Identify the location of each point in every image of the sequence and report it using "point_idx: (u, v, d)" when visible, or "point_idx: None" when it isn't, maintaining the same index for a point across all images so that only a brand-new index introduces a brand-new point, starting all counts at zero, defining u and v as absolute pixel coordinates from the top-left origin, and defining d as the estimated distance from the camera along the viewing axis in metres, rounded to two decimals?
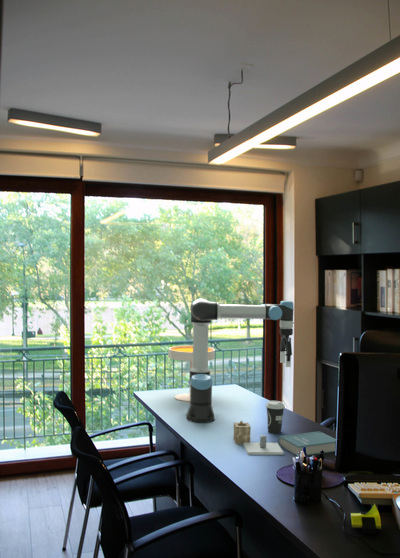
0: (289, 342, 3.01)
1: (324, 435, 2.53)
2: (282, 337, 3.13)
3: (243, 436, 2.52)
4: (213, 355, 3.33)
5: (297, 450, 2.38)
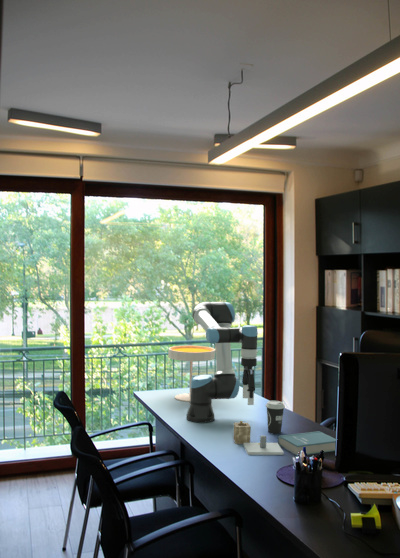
0: (252, 375, 2.53)
1: (323, 435, 2.54)
2: (245, 368, 2.65)
3: (243, 436, 2.52)
4: (213, 355, 3.33)
5: (296, 449, 2.38)
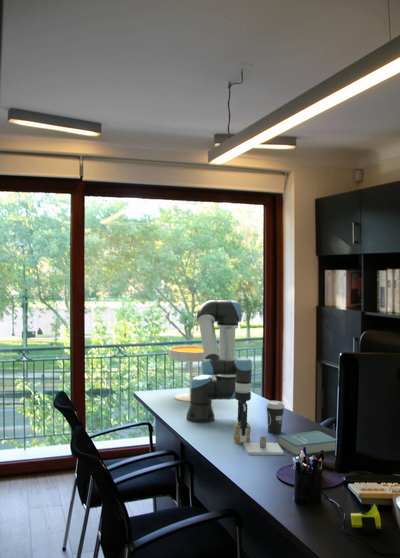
0: (245, 412, 2.49)
1: (323, 434, 2.54)
2: (239, 403, 2.60)
3: None
4: None
5: (295, 449, 2.39)
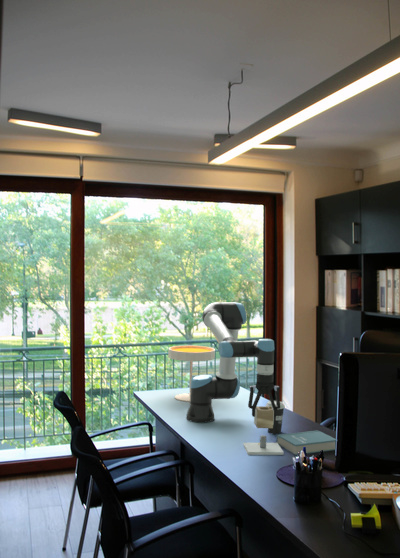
0: (250, 392, 2.43)
1: (322, 434, 2.55)
2: None
3: None
4: (213, 355, 3.33)
5: (294, 449, 2.39)
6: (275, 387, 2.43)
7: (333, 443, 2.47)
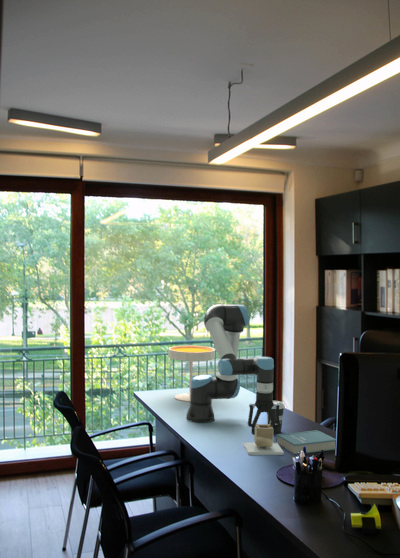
0: (250, 410, 2.43)
1: (322, 434, 2.55)
2: None
3: None
4: (213, 355, 3.33)
5: (294, 448, 2.40)
6: (275, 405, 2.43)
7: (332, 443, 2.47)
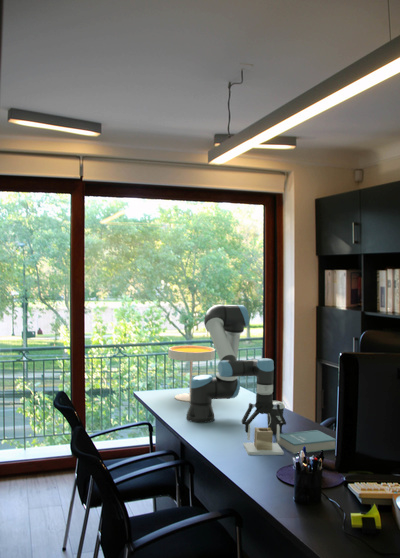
0: (248, 409, 2.43)
1: (321, 433, 2.55)
2: None
3: (255, 439, 2.43)
4: (213, 355, 3.33)
5: (293, 448, 2.40)
6: (275, 405, 2.43)
7: (332, 443, 2.47)
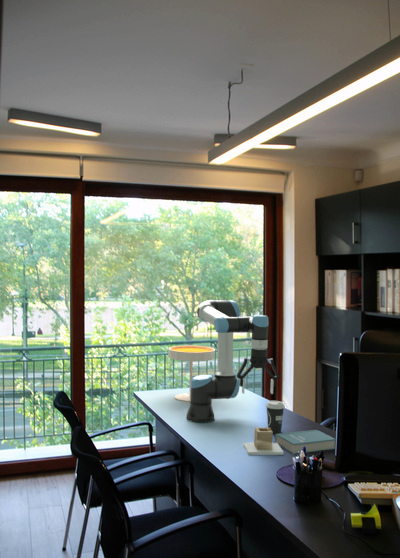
0: (243, 363, 2.51)
1: (321, 433, 2.56)
2: None
3: (255, 439, 2.43)
4: (213, 355, 3.33)
5: (293, 448, 2.41)
6: (269, 360, 2.51)
7: (331, 442, 2.48)
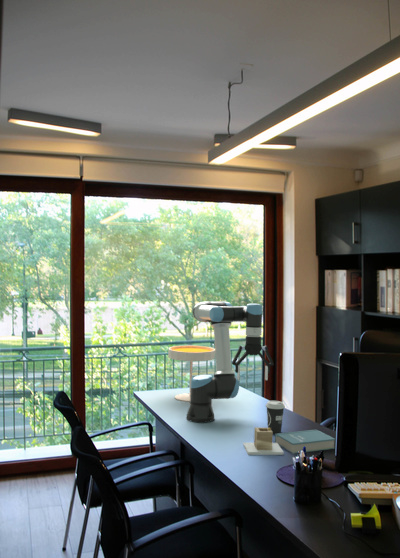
0: (238, 351, 2.58)
1: (320, 433, 2.56)
2: None
3: (255, 439, 2.43)
4: (213, 355, 3.33)
5: (292, 447, 2.41)
6: (263, 347, 2.59)
7: (331, 442, 2.48)
